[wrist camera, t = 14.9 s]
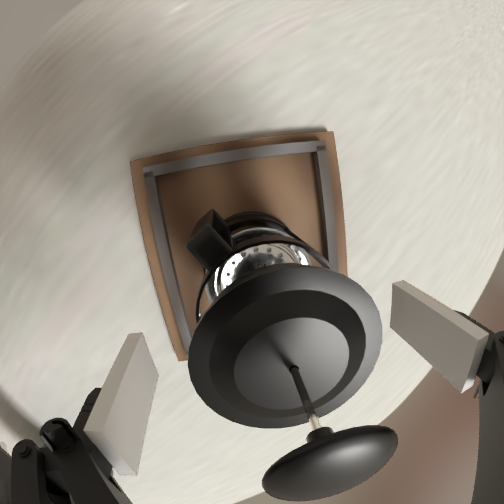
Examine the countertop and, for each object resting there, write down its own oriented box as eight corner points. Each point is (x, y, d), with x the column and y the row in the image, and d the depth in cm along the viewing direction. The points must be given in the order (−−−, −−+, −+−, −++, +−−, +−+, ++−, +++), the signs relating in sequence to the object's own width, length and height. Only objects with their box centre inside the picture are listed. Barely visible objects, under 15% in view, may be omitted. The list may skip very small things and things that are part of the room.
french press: (319, 265, 29) (482, 426, 7) (251, 323, 30) (303, 538, 7) (243, 177, 26) (374, 167, 4) (170, 244, 27) (48, 444, 4)
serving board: (179, 355, 31) (177, 367, 29) (133, 162, 25) (125, 161, 23) (344, 324, 32) (352, 333, 30) (329, 133, 27) (337, 129, 24)
